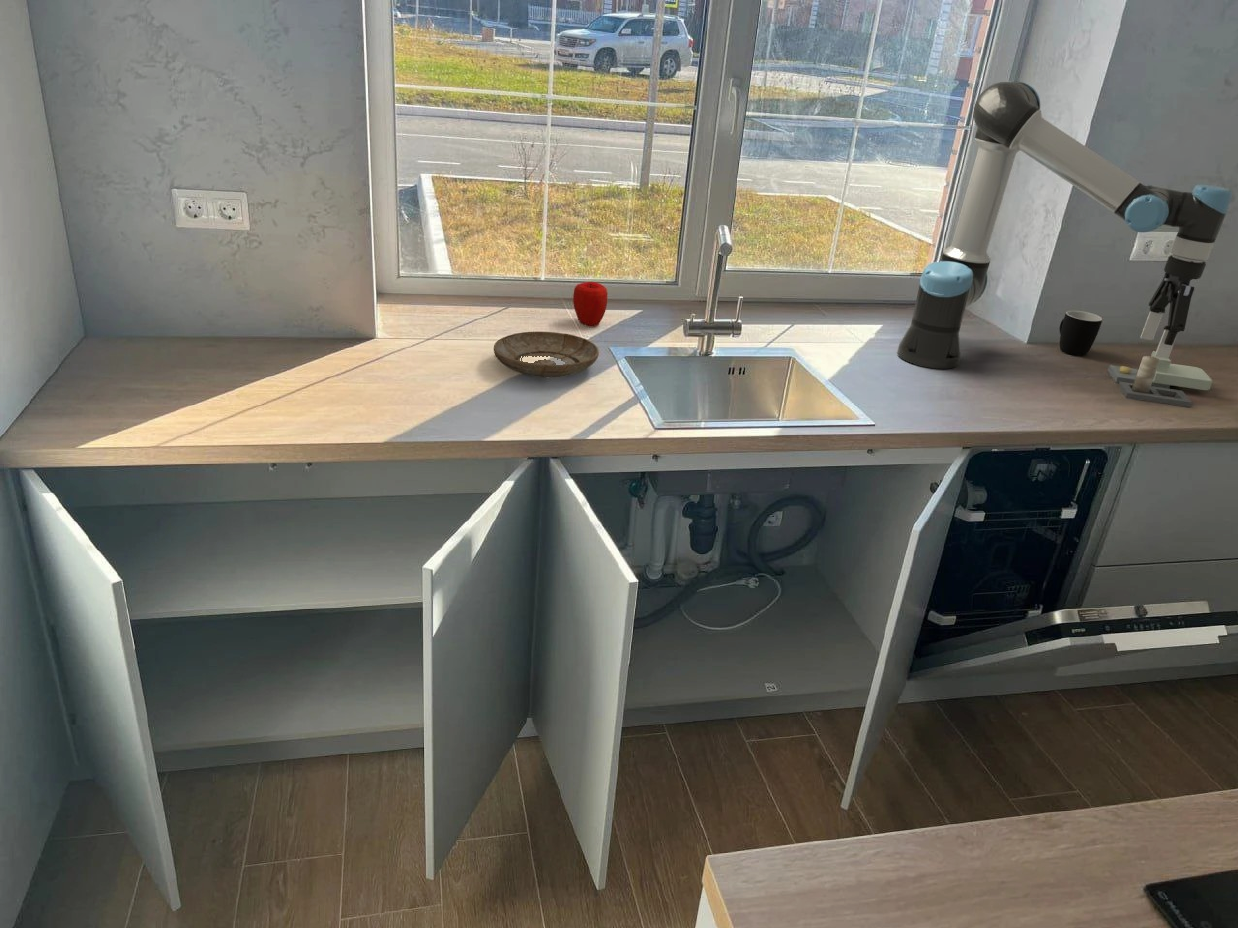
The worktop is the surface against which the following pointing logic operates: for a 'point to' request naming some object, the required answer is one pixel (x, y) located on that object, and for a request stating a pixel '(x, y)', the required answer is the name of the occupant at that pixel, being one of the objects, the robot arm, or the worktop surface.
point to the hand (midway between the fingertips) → (1153, 348)
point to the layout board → (1128, 375)
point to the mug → (1078, 332)
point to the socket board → (1156, 395)
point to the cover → (1181, 375)
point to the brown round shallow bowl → (546, 353)
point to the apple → (590, 302)
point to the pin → (1145, 374)
